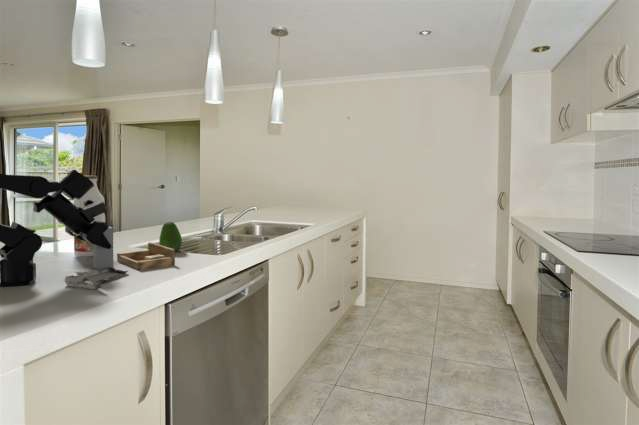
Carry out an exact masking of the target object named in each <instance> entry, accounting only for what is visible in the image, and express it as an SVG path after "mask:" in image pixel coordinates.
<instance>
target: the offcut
mask: <svg viewBox="0 0 639 425" xmlns="http://www.w3.org/2000/svg"><path fill="white" fill-rule="evenodd" d="M160 258H165V256H164V255H160V254H158V255H152V256H146V257H145V260H153V259H160Z"/></svg>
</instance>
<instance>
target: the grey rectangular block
mask: <svg viewBox="0 0 639 425" xmlns="http://www.w3.org/2000/svg"><path fill="white" fill-rule="evenodd" d="M103 234H104V236H105V237H106V239H107V240H108V242H109V243H110V244H111V246H112V247H111V248H110V249H107V248H104V247H101V246H98V245H95V244H93V256H92V263H93V264H92V266H93V267H92V268H93V269H94V270H103V269H106V268H107V267H112V268H114V227H112V226H109V228H108V229H107V230H106V231H105V232H104V233H103Z"/></svg>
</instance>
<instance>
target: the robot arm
mask: <svg viewBox="0 0 639 425" xmlns="http://www.w3.org/2000/svg"><path fill="white" fill-rule="evenodd" d="M92 187H94V184H93V183H92V181H91V180H90V179H89V178H87V177H85V176H84V175H83V174H82V173H80V172H79V171H77V170H76V169H72V170H70V171H69V172H68V173H67V174H66V175H65V176H64V177H63V178H62V179H61V180H60V181H49V180H48V179H47V178H46V177H45V176H39V175H28V174H26V175H25V174H20V175H19V174H4V173H0V189H2V190H5V191H9V192H12V193H15V194H18V195H22V196H25V197H29V198H33V199H40V201H33V202H32V205H33V209H32V210H33V212H34V213H37V214H38V213H41V212H42V211H43V210H44V211H45V212H47V213H48V214H50V215H51V216H52V217H53V218H54V219H56V220H57V222H58V223H59V224H61V225H63V226H65V227H64V228H65V231H64V232H65V233H66V234H68V235H69V236H71V237H74V234H77V235H78V236H77V237H76V238H78V239H80V240H83V241H86V242H88V243H91V244H95V245H98V246H101V247H104V248H107V249H110V248H111V247H112V246H111V244H110V243H109V242H108V240H107V239H106V237H105V236H104V234H103V233H104V232H105V231H106V230H107V229H108V228H109V227H110V226H109V225H108V224H107V223H106V222H105V223H104V222H101V221H94V220H95V219H94V218H93V217H96V216H98V215H100V214H102V213H108V211H109V210H108V207H107V206H106V204H104V202H103V201H95V202H93V201H92V200H87V201H84V206H83V208H81V207H76V206H75V205H74V202H73V203H72V202H71V200H72V201H74V198H76V199H78V200H79V199H80V198H81V197H83V196H84V195H85V194H86V193H87V192H88V191H89V190H90V189H91V188H92ZM50 193H52V194H51V195H50ZM93 221H94V222H93ZM91 222H93V223H91ZM36 232H37V230H35V229H33V228H31V227H25V226H24V225H22V224H19V223H18V222H15V221H12V222H11V224H10V225H5V224H1V223H0V243H2V244H3V246H1V247H0V257H1V260H0V287H11V286H13V287H14V286H27V285H30V284H31V283H32V282H34V281H35V280H36V279H37V265H36V262H34V257H35V255H36V253H37V252H38V251H39V250H41V248H42V245H43V239H42V237H41V236H40V235H39V234H37V233H36Z"/></svg>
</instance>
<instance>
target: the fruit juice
mask: <svg viewBox="0 0 639 425" xmlns="http://www.w3.org/2000/svg"><path fill="white" fill-rule="evenodd" d="M84 176H85V177H87V178H89V179H90V180H91V181H92V183H93V184H94V187H92V188H91V189H90V190H89V191H88V192H87V193H86V194H85V195H84V196H83V197H81V198H80V199H79V200H78V199H76V198H74V199H73V204H74V205H75V206H76V207H81V208H83V206H84V201H87V200H92V201H93V202H95V201H103V202H104V204H105V203H106V202H105V201H106V200H105V197H104V196H103V195H102V193H101V192H100V190H99V188H98V184H97V183H98V182H97V181H98V175H89V174H88V175H87V174H85V175H84ZM105 205H106V204H105ZM93 218H94V219H95V220H94V221H101V222H104V223H105V224H106V214H105V213H102V214H100V215H98V216H96V217H93ZM94 221H93V222H94ZM93 222H91V223H93ZM73 234H74V233H73ZM77 236H78V235H77V234H74V236H73V247H74V248H73V253H74V257H75V258H79V257H93V244H91V243H88V242H86V241H83V240H80V239H78V238H76V237H77Z"/></svg>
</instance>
